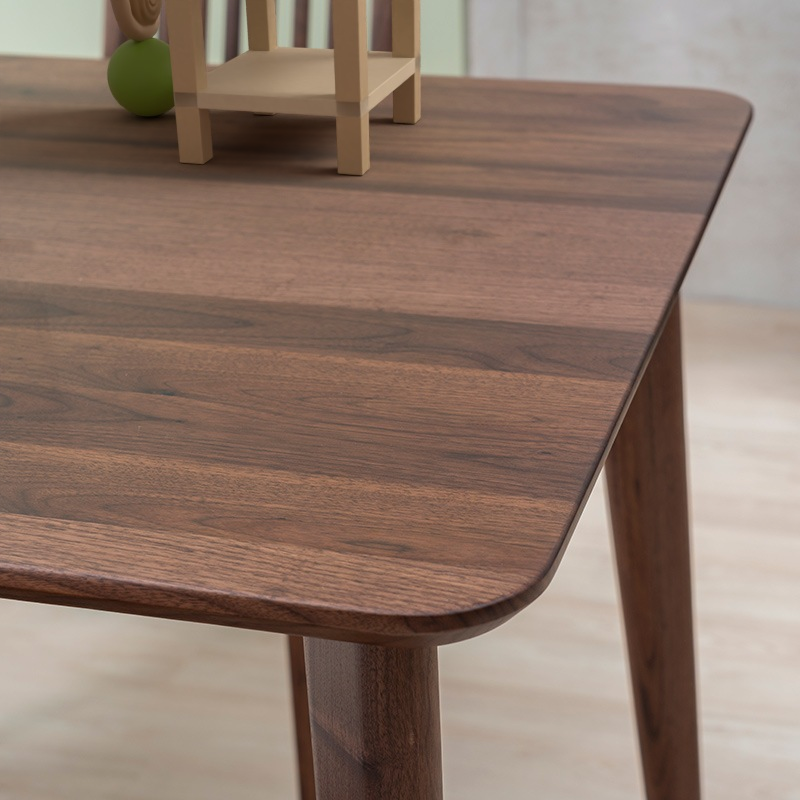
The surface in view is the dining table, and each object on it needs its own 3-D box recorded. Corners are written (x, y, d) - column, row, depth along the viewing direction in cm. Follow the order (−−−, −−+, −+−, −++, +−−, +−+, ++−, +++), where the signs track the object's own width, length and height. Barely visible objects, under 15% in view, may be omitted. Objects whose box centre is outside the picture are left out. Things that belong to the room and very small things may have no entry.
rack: (179, 162, 79) (161, -38, 73) (260, 108, 91) (249, -68, 85) (362, 175, 76) (357, -33, 70) (421, 118, 88) (420, -64, 82)
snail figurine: (90, 125, 87) (68, -57, 82) (134, 103, 93) (115, -69, 87) (162, 131, 86) (143, -55, 80) (201, 108, 91) (187, -67, 86)
